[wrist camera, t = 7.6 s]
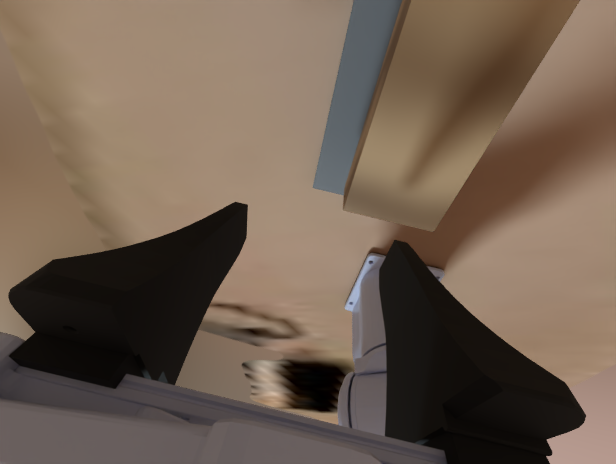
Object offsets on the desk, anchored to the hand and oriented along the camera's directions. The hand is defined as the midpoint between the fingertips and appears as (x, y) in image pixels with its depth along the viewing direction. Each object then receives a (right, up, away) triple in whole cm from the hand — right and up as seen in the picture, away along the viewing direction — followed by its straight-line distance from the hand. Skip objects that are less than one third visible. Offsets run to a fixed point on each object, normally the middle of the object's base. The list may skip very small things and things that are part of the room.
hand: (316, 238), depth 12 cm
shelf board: (+6, +8, +1) cm, 10 cm away
